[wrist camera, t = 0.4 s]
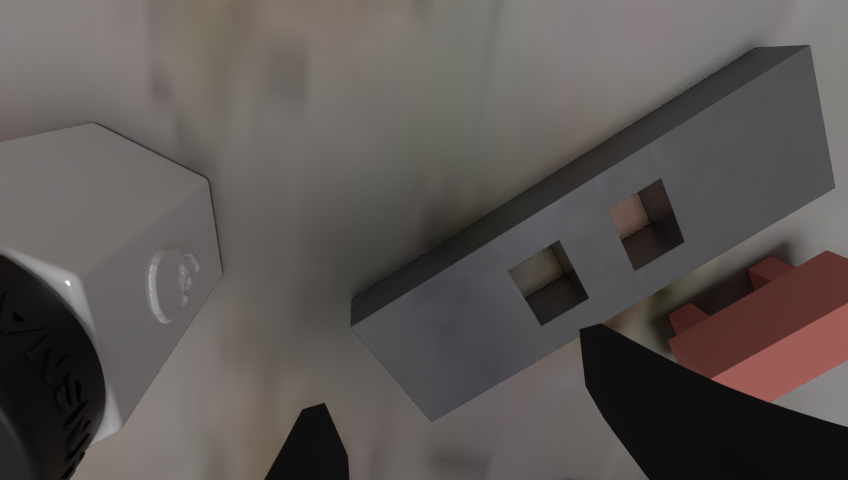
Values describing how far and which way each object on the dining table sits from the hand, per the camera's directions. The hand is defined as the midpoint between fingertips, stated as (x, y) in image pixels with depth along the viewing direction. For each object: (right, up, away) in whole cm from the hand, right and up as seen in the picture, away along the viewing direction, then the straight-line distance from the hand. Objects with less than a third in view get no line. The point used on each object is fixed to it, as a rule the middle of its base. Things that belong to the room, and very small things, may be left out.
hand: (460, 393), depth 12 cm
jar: (-14, +5, +7) cm, 16 cm away
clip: (+16, +1, +13) cm, 21 cm away
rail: (+7, +4, +10) cm, 13 cm away
